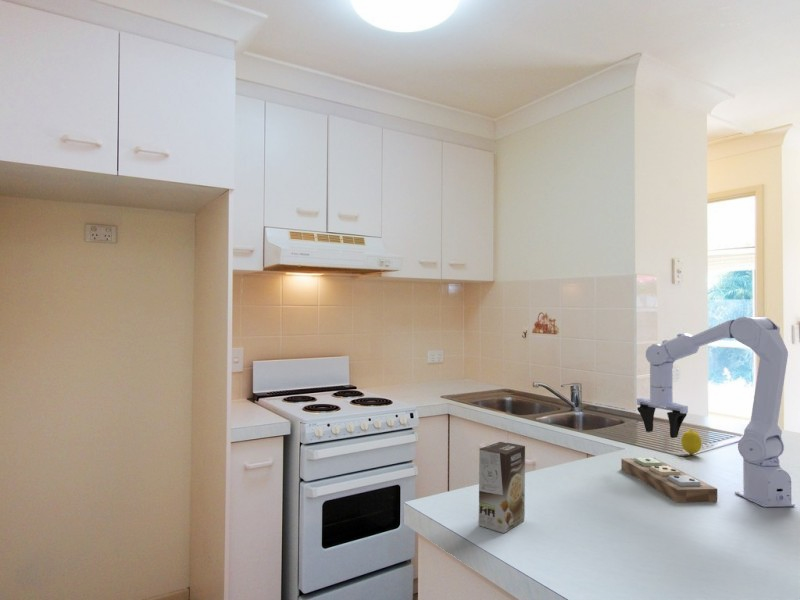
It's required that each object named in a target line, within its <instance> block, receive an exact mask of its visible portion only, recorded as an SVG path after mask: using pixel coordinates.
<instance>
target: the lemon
mask: <svg viewBox="0 0 800 600" xmlns="http://www.w3.org/2000/svg"><path fill="white" fill-rule="evenodd" d="M681 446H682V449H683V450H684V451H685V452H687V453H688V454H689V455H690V454H692V455H691V456H693V455H695V454H697V453H698V452H699V451H701V448H702V438H701V436H700V434H699V433H698V432H696V431H694V429H689V430H687V431H684V432H683V434H682V436H681Z"/></svg>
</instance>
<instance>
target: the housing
mask: <svg viewBox="0 0 800 600" xmlns="http://www.w3.org/2000/svg"><path fill="white" fill-rule="evenodd" d="M634 458H635V457H633V458H631V457H630V458H628V457H627V458H621V459H620V460H621V461H620V462H621V465H620V466H621V470H622V471H624V472H625V473H627V474H629V475H631V476H632V477H634V478H635V479H637V480H639V481H640V482H643V483H644V484H645V485H647V486H649V487H650V488H652V489H654V490H656V491H657V492H659V493H661V494H663V495H665V496H666V497H667V498H669V499H671V500H672V501H674V502H676V503H704V502H705V503H706V502H707V503H708V502H709V503H710V502H715V503H716V502H718V488H717V487H714V486H713V485H711V484H708V483H707V482H704V481H702V480H700V479H698V478H696V477H694V476H692V475H690V474H688V473H686V472H684V471H682V470H680V469H678V468H676V467H674V466H671V465H670V464H668V463H666V462H664V461H661V460H660V459H658V458H656V457H652V458H653V459H655V460H658V461H660V462H662V466H670V467H672V468H674V469H676V470H678V471H680V475H688V476H690V477H692V478H694V479H696V480H698V481H700V486H679V485H677V484H675V483H673V482H671V481H670V480H669V479H668V476H660V475H659V474H657V473H655V472H653V471H651V470H650V466H647V467H644V466H642V465H640V464H638V463H636V462H634Z"/></svg>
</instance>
